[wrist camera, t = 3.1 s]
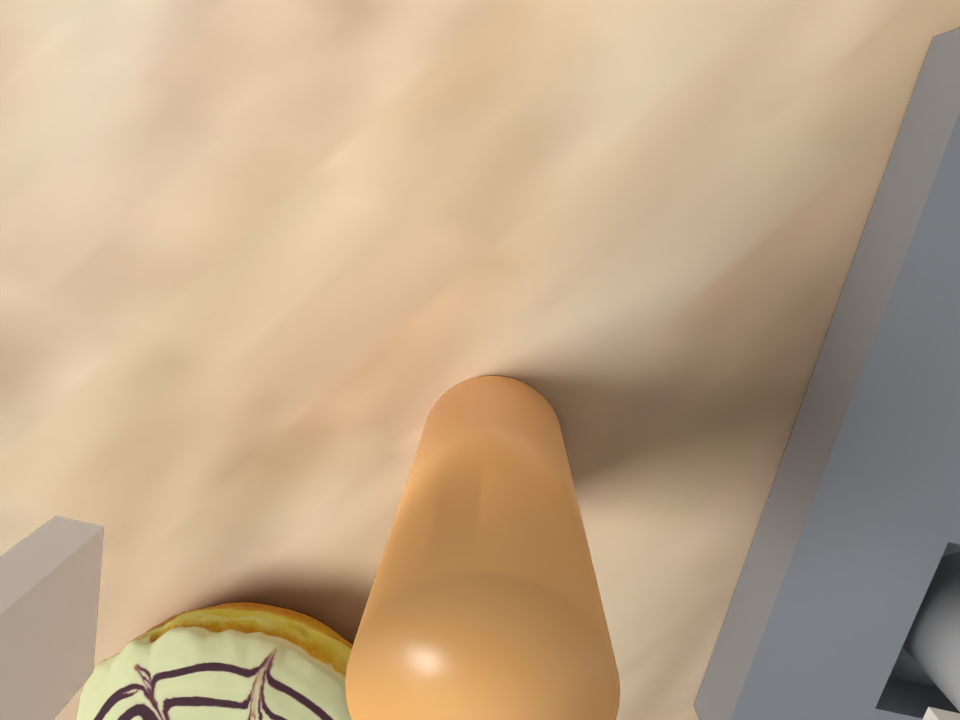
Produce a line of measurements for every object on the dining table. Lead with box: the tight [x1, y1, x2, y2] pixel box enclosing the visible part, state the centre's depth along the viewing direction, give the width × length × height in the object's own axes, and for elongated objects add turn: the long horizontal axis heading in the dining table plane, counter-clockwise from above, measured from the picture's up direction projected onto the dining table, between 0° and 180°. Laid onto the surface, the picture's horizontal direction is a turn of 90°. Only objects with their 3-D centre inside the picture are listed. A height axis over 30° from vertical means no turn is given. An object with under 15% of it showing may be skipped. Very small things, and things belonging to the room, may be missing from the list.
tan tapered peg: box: [345, 376, 620, 720], centre depth 16 cm, size 4×4×11 cm
